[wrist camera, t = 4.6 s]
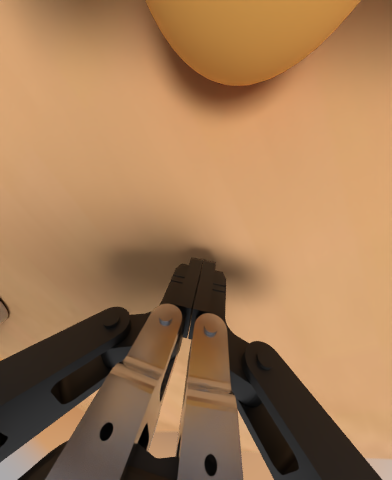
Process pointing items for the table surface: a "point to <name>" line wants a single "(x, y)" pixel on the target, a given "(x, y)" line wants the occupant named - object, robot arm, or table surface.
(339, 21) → the ball
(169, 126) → the table surface
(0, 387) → the robot arm
